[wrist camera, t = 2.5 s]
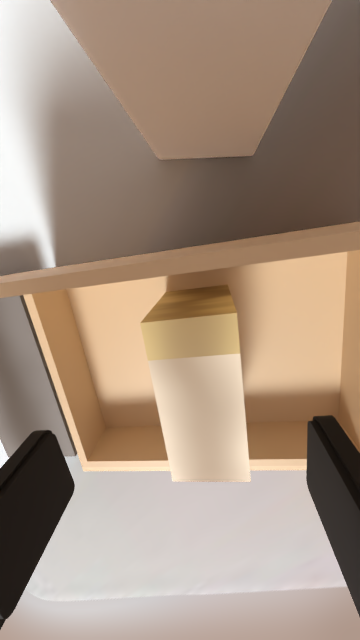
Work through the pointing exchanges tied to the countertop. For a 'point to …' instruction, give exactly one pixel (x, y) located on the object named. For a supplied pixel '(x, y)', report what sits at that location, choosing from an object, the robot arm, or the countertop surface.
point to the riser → (26, 382)
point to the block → (199, 384)
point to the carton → (254, 338)
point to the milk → (196, 65)
